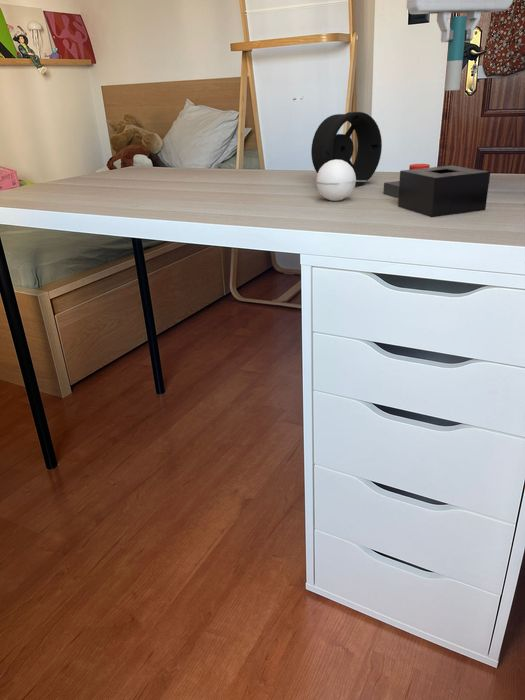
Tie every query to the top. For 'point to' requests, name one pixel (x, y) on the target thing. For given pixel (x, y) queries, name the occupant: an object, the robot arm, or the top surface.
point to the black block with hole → (443, 190)
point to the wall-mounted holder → (348, 144)
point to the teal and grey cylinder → (455, 53)
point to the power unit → (391, 189)
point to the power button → (418, 166)
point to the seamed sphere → (336, 180)
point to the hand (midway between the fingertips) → (456, 41)
